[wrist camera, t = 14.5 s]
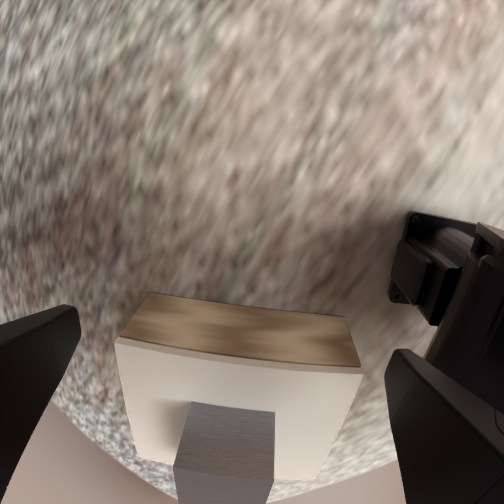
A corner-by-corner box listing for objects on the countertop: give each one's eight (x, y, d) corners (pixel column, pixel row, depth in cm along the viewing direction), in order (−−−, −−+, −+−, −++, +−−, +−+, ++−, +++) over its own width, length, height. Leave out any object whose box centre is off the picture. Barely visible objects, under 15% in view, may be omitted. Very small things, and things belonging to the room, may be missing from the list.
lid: (361, 367, 17) (364, 374, 16) (314, 474, 21) (314, 480, 20) (118, 336, 17) (113, 342, 17) (140, 451, 21) (138, 457, 21)
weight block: (275, 411, 18) (273, 480, 13) (264, 455, 19) (261, 514, 15) (191, 401, 18) (172, 467, 13) (193, 446, 19) (179, 503, 15)
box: (344, 316, 22) (360, 365, 17) (309, 425, 26) (313, 473, 21) (149, 292, 23) (119, 334, 17) (158, 405, 27) (140, 450, 21)
